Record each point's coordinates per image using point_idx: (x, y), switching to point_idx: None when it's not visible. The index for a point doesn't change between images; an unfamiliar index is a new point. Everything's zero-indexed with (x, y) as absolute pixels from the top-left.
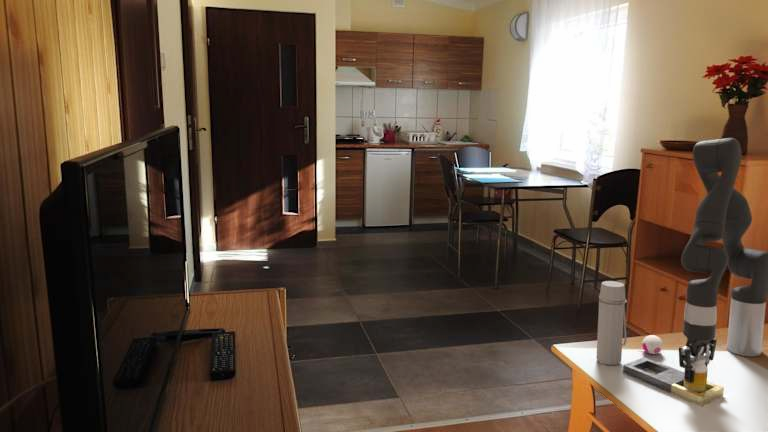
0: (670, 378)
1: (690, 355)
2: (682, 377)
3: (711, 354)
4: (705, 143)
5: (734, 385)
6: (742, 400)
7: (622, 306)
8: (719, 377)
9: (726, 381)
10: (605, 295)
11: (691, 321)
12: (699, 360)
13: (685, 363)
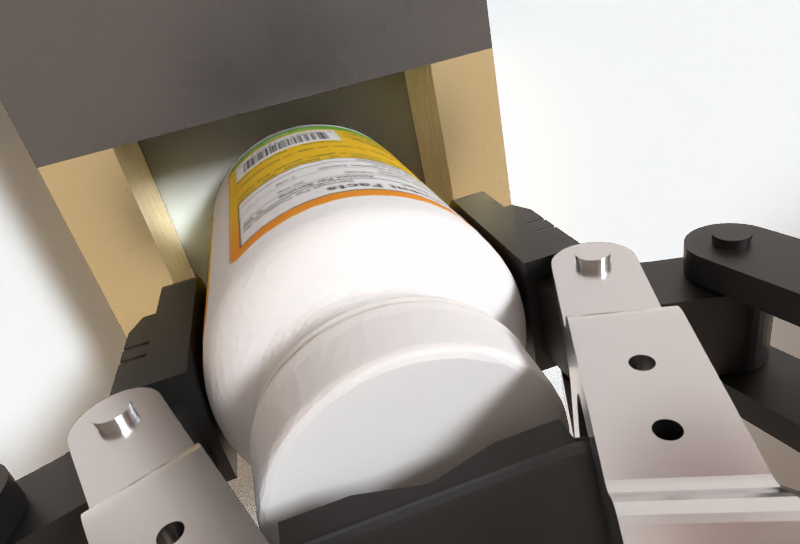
0: (152, 4)
1: (360, 409)
2: (340, 39)
3: (759, 425)
4: None
5: (725, 185)
6: (556, 377)
7: None
8: (777, 23)
9: (747, 108)
10: None
11: None
12: None
13: (52, 537)
